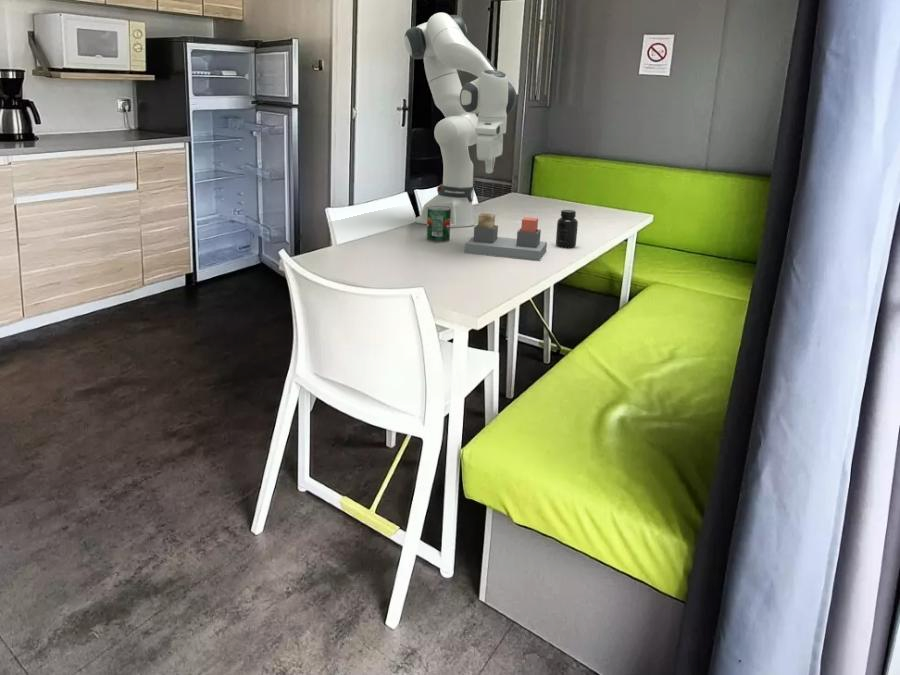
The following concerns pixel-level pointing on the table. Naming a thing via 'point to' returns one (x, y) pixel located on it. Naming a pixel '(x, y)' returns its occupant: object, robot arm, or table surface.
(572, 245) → the supplement bottle
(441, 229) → the canned tomato
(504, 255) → the button panel
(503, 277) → the table surface
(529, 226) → the red button
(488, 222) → the tan button
